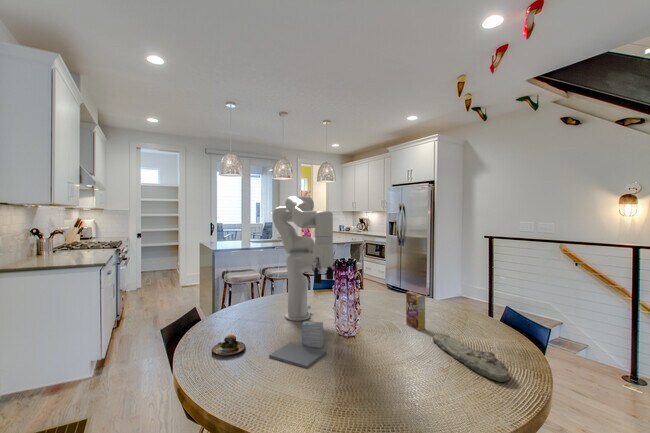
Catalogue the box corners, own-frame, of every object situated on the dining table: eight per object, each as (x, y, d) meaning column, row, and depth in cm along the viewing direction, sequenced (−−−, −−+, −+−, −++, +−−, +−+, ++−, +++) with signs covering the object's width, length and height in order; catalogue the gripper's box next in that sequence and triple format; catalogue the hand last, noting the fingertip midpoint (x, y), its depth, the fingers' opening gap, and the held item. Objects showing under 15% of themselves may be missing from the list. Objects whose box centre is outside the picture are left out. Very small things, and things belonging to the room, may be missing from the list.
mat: (290, 344, 123) (290, 342, 123) (326, 353, 115) (326, 351, 115) (269, 357, 111) (269, 355, 111) (307, 368, 103) (307, 365, 103)
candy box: (405, 324, 146) (405, 291, 146) (412, 323, 148) (412, 290, 148) (417, 330, 138) (418, 296, 138) (425, 329, 140) (425, 295, 140)
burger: (204, 356, 112) (205, 335, 112) (225, 343, 123) (226, 324, 123) (232, 361, 108) (233, 340, 108) (252, 348, 119) (252, 328, 119)
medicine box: (323, 343, 124) (323, 321, 123) (321, 348, 119) (322, 325, 119) (303, 342, 124) (303, 320, 124) (301, 347, 120) (301, 324, 120)
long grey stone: (447, 342, 130) (426, 345, 127) (446, 329, 130) (425, 332, 127) (520, 380, 96) (493, 387, 93) (519, 363, 96) (492, 369, 94)
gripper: (326, 239, 141) (326, 277, 140) (304, 241, 126) (304, 283, 126) (341, 239, 137) (341, 278, 137) (320, 242, 122) (320, 285, 122)
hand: (323, 281), depth 131 cm, fingers open, 9 cm apart
